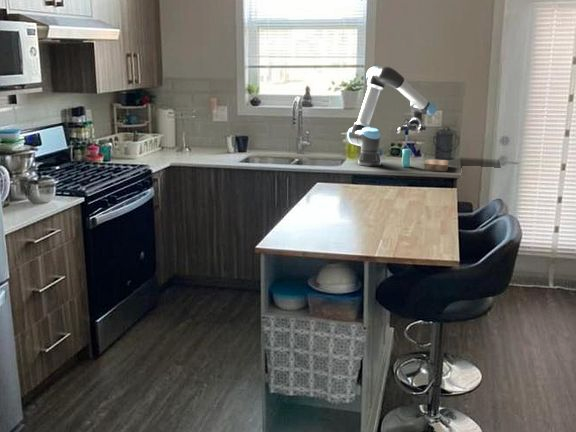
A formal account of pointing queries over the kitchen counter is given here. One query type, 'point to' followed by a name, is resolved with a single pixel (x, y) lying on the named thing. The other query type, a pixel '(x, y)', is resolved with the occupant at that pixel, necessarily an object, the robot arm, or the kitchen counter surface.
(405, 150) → the teal jar
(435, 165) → the walnut base
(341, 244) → the kitchen counter surface
